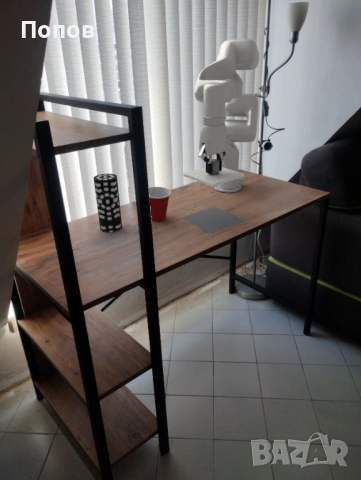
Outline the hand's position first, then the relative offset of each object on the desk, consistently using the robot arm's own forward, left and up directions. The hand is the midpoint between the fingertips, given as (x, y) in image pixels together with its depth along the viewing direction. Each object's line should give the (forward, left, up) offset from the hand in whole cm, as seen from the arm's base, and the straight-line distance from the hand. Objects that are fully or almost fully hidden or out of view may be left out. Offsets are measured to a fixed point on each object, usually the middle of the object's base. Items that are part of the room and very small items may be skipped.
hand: (213, 171), depth 143 cm
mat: (0, 0, -19) cm, 19 cm away
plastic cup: (+16, -14, -20) cm, 29 cm away
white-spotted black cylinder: (+34, -20, -19) cm, 44 cm away
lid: (0, 0, -2) cm, 2 cm away
